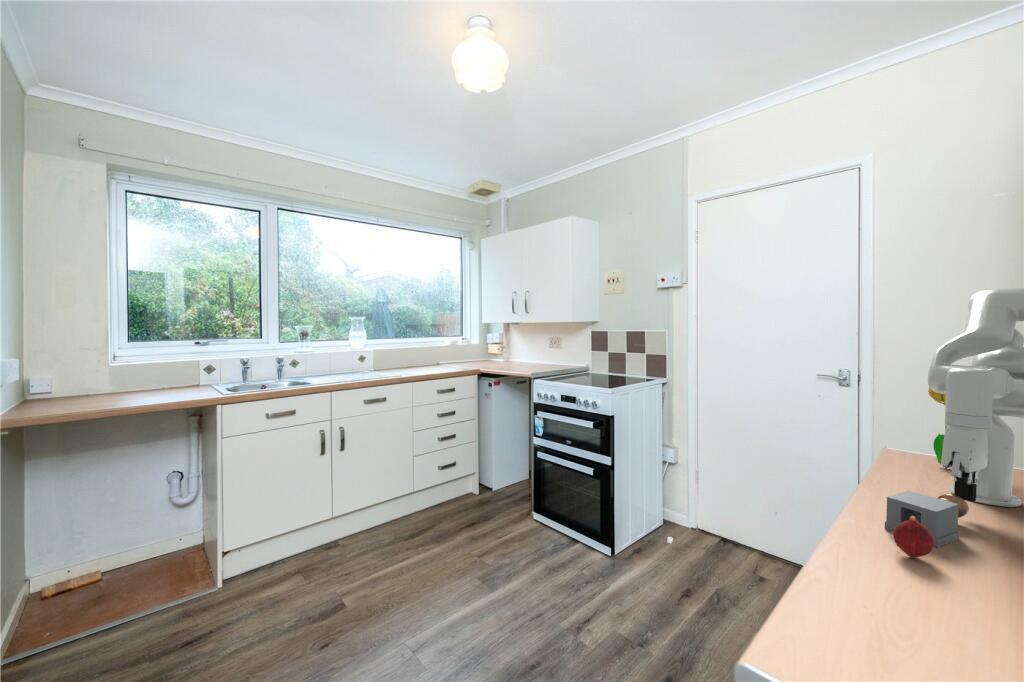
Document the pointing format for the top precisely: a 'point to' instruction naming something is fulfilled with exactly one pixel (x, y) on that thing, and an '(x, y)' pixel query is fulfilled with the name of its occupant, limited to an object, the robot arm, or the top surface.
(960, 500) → the shaft
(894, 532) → the onion
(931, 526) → the housing
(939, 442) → the flower
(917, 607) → the top surface
